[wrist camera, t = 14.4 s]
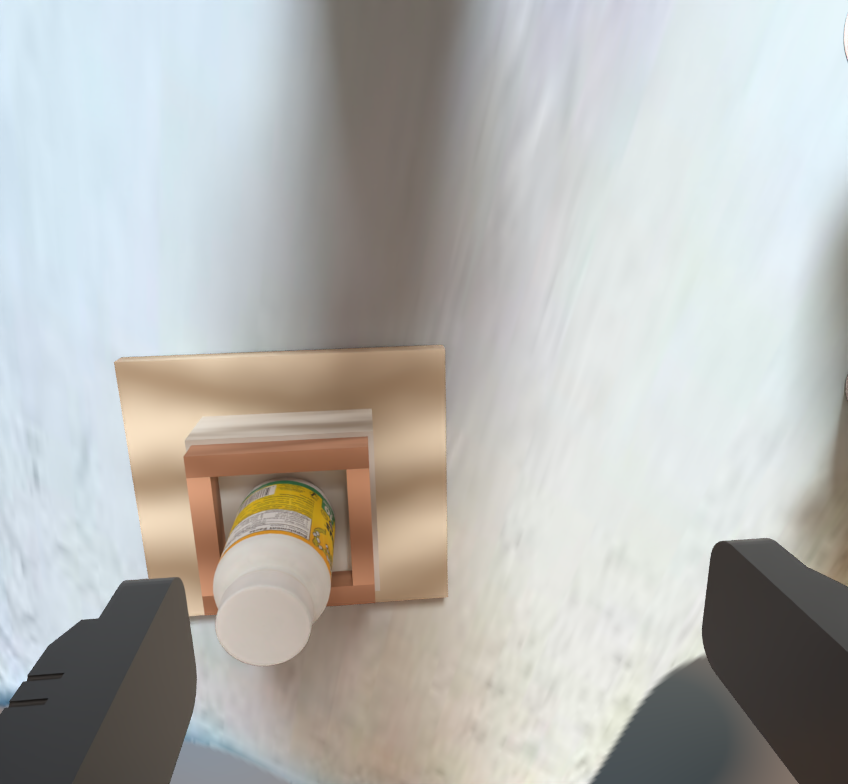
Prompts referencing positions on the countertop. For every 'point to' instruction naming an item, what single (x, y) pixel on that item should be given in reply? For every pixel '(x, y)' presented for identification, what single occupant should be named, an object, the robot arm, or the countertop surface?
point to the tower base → (293, 459)
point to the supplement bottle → (274, 571)
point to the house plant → (846, 388)
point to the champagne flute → (846, 37)
